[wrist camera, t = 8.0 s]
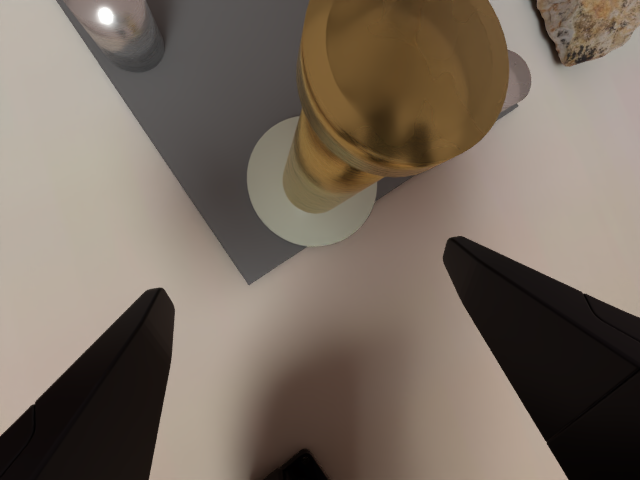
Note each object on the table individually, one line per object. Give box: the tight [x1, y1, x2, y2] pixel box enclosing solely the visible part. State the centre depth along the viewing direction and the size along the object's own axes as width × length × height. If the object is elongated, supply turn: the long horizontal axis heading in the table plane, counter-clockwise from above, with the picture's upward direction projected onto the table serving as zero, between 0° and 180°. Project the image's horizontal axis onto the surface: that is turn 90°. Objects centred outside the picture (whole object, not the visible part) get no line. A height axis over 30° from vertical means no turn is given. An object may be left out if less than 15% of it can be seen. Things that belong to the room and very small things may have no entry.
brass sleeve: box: [283, 0, 509, 214], centre depth 13 cm, size 5×5×13 cm
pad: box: [247, 116, 377, 247], centre depth 20 cm, size 9×9×1 cm
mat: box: [56, 0, 518, 285], centre depth 21 cm, size 24×26×1 cm
